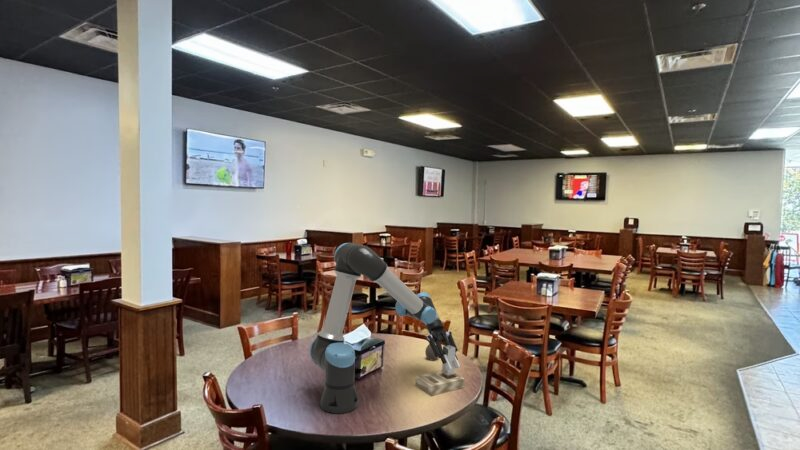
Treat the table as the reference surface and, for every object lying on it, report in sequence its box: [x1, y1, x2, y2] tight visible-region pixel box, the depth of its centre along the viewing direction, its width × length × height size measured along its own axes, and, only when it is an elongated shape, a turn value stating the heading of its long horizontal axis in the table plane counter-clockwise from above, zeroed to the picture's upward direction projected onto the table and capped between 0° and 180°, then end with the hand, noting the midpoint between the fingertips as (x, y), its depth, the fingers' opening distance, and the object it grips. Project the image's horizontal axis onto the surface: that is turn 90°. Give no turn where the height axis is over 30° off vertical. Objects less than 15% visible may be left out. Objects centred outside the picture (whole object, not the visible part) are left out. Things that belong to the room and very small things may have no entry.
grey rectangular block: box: [441, 345, 456, 376], centre depth 192 cm, size 4×4×12 cm
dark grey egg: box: [424, 343, 438, 361], centre depth 223 cm, size 7×7×9 cm
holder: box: [415, 370, 465, 397], centre depth 190 cm, size 18×12×4 cm, turn 121°
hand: (453, 368), depth 189 cm, fingers closed on grey rectangular block, 4 cm apart
